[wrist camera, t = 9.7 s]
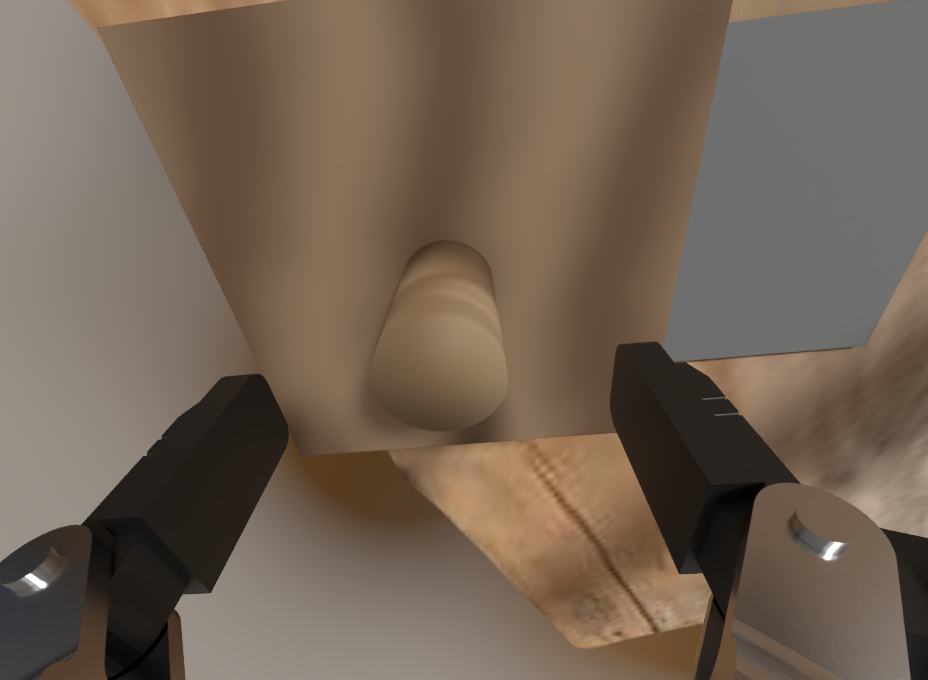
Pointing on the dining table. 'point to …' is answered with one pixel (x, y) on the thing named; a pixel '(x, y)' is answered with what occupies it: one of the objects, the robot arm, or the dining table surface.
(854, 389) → the dining table surface
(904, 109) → the mat
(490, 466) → the dining table surface
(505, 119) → the lid
